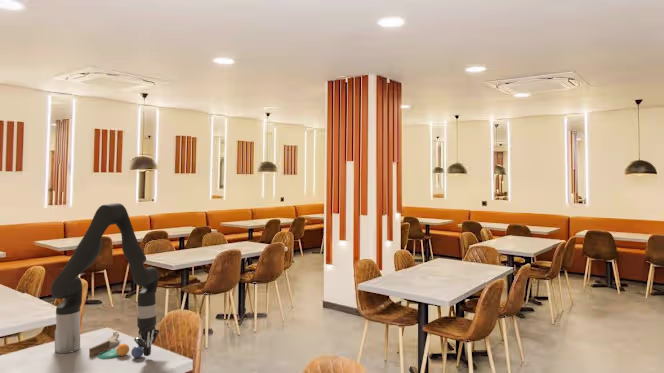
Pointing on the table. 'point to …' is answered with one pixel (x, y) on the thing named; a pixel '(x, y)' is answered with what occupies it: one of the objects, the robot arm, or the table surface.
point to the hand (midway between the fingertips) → (147, 355)
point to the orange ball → (122, 349)
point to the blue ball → (137, 351)
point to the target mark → (108, 354)
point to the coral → (114, 339)
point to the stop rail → (99, 348)
